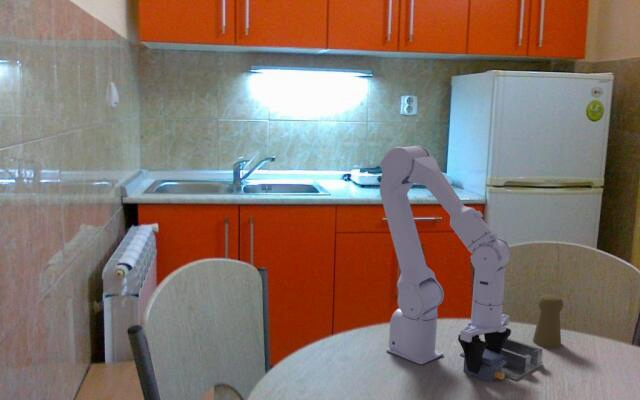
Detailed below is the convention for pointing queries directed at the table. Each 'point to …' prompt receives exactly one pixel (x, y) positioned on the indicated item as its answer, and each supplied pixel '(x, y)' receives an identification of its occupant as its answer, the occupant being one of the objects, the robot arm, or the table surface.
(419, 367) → the table surface
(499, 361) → the blue-grey long block
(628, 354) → the table surface
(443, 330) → the table surface
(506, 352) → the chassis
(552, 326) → the cork
